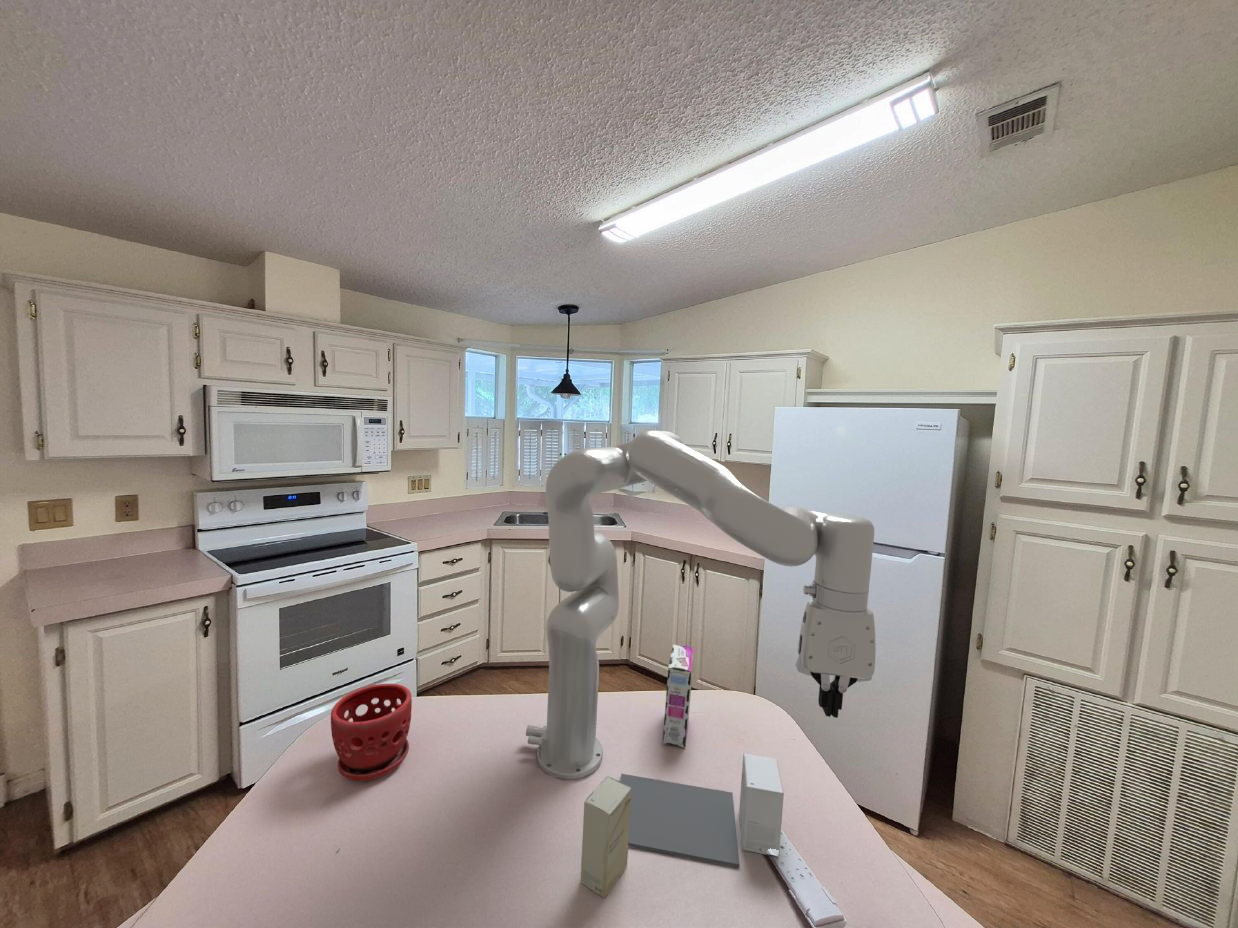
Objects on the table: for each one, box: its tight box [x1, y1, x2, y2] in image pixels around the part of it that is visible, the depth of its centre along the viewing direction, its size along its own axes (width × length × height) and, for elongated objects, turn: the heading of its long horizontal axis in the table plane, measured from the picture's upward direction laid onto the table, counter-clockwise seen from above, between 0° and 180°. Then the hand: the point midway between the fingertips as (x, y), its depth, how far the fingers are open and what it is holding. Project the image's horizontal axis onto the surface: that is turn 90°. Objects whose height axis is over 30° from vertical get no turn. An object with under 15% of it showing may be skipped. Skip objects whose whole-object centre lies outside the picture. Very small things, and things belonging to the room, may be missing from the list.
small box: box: [738, 752, 785, 856], centre depth 76 cm, size 8×6×10 cm
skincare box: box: [580, 775, 631, 898], centre depth 67 cm, size 6×4×12 cm
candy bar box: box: [661, 644, 695, 749], centre depth 100 cm, size 11×5×16 cm, turn 169°
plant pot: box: [330, 683, 413, 782], centre depth 86 cm, size 13×13×12 cm
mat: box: [619, 773, 741, 869], centre depth 78 cm, size 20×14×1 cm
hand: (829, 711), depth 73 cm, fingers closed
